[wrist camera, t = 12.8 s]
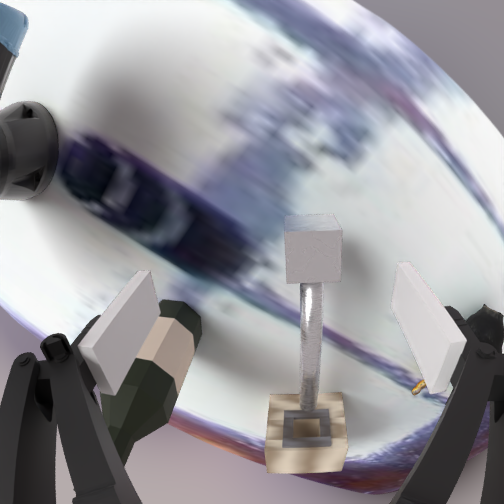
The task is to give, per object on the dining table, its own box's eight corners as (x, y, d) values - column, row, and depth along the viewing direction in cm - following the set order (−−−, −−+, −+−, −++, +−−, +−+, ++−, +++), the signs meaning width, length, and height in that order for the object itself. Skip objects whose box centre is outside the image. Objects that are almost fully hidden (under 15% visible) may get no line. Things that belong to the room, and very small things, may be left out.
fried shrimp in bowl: (520, 322, 34) (467, 422, 35) (470, 300, 44) (424, 392, 45) (511, 313, 30) (448, 430, 31) (452, 288, 39) (399, 393, 41)
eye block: (271, 421, 52) (267, 473, 41) (269, 392, 48) (264, 448, 38) (336, 419, 50) (341, 470, 39) (341, 389, 47) (349, 445, 36)
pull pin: (290, 392, 41) (289, 419, 37) (284, 215, 31) (284, 231, 27) (325, 391, 40) (327, 417, 36) (334, 213, 31) (342, 229, 26)
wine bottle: (187, 292, 42) (84, 491, 15) (212, 338, 45) (149, 531, 17) (140, 305, 44) (30, 472, 17) (166, 348, 47) (89, 515, 19)
